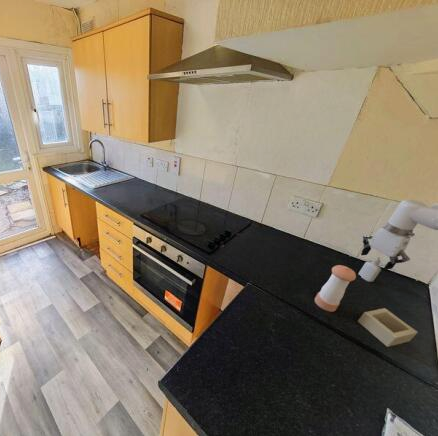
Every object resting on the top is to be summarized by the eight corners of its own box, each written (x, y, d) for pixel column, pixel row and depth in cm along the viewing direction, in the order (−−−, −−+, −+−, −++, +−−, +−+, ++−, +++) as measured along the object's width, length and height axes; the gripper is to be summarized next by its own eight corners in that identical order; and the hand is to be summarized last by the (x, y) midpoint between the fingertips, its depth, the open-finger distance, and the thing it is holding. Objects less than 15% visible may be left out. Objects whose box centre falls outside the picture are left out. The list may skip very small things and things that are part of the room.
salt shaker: (334, 314, 86) (359, 277, 77) (312, 304, 91) (333, 267, 81) (337, 303, 91) (360, 267, 82) (316, 294, 95) (336, 258, 86)
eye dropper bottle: (368, 275, 107) (381, 255, 101) (373, 283, 102) (388, 262, 97) (357, 272, 108) (369, 252, 103) (362, 280, 104) (375, 260, 98)
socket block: (377, 316, 86) (384, 308, 84) (409, 341, 78) (418, 332, 75) (357, 321, 84) (364, 312, 82) (387, 347, 76) (395, 337, 73)
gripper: (430, 240, 86) (403, 274, 95) (381, 218, 101) (361, 249, 109) (416, 242, 85) (390, 276, 93) (368, 219, 99) (349, 250, 108)
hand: (374, 261), depth 101 cm, fingers open, 9 cm apart
